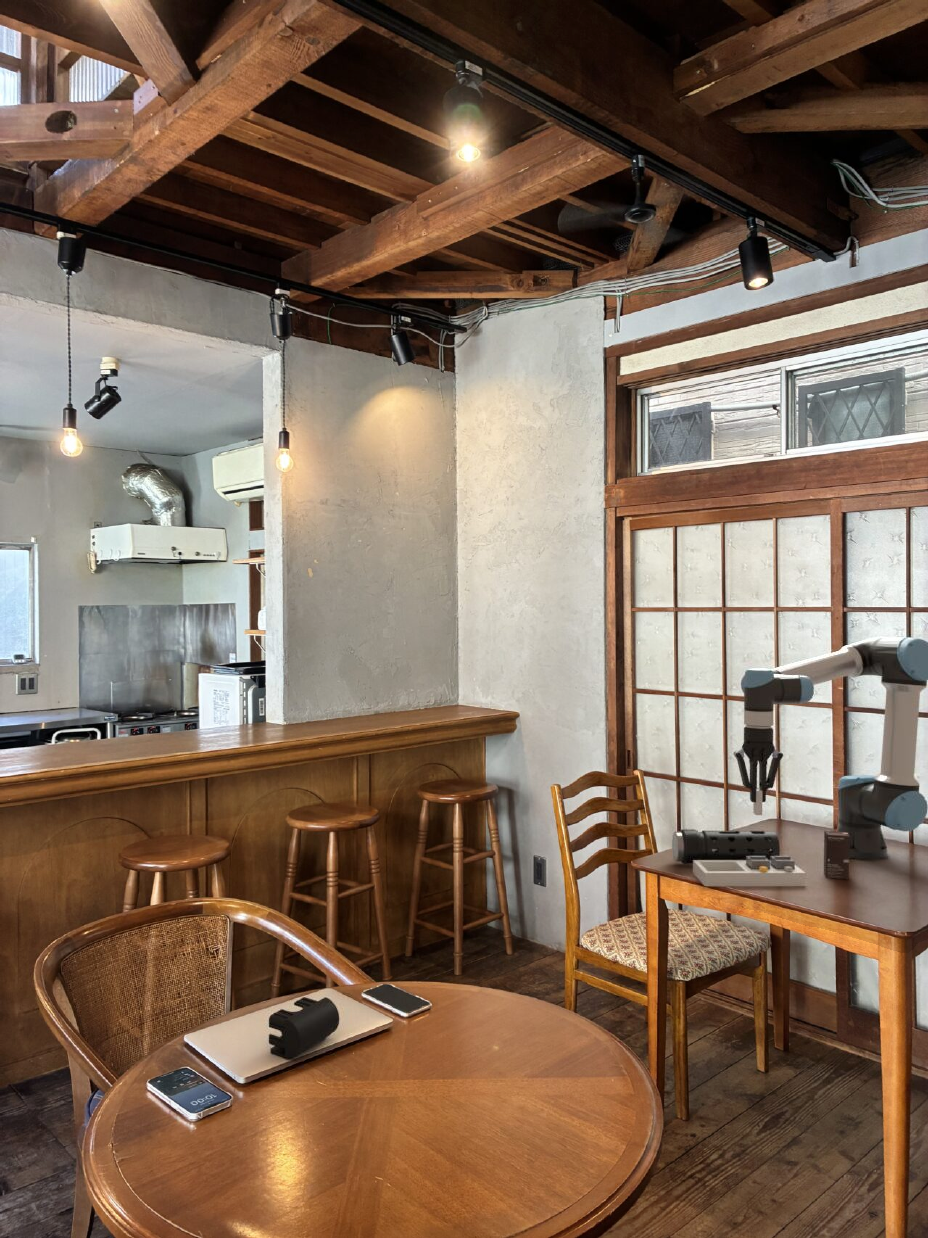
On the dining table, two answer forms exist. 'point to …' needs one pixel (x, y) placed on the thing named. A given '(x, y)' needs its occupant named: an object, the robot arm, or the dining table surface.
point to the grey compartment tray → (745, 874)
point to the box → (836, 854)
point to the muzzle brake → (723, 845)
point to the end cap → (302, 1026)
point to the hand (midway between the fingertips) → (757, 814)
